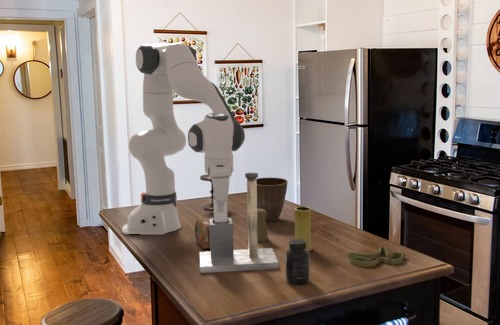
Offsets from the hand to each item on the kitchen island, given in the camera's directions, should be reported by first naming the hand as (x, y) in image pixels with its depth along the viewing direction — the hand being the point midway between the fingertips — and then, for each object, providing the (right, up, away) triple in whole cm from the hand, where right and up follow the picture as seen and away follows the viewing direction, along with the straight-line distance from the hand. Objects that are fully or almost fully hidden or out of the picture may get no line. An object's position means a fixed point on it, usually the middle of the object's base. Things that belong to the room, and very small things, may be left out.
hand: (220, 209), depth 174 cm
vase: (+27, -15, +16) cm, 35 cm away
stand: (+5, -17, +3) cm, 18 cm away
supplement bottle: (+23, -20, -13) cm, 33 cm away
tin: (-7, -15, +22) cm, 27 cm away
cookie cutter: (+49, -17, +4) cm, 52 cm away
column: (0, -15, +3) cm, 15 cm away
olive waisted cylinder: (+13, -13, +28) cm, 33 cm away
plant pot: (+17, -9, +53) cm, 57 cm away
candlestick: (-7, -6, +74) cm, 74 cm away
